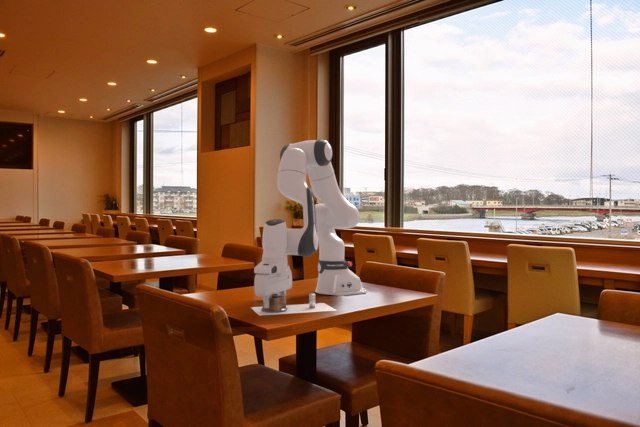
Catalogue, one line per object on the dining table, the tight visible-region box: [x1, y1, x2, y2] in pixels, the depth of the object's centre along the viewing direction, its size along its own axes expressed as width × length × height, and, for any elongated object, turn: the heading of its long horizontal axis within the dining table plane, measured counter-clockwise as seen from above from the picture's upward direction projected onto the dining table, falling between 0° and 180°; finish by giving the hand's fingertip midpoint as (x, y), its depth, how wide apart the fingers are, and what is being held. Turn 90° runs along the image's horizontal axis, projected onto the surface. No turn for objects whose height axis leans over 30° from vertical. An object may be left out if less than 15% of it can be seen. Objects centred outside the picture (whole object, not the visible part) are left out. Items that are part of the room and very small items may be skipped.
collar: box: [262, 295, 287, 311], centre depth 180 cm, size 6×6×4 cm
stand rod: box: [308, 293, 316, 308], centre depth 185 cm, size 2×2×5 cm
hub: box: [261, 294, 287, 313], centre depth 180 cm, size 9×9×6 cm
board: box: [250, 302, 338, 317], centre depth 183 cm, size 28×14×2 cm, turn 109°
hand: (274, 305), depth 180 cm, fingers open, 8 cm apart
